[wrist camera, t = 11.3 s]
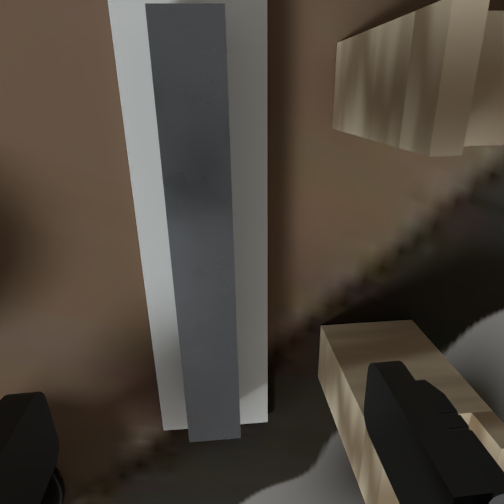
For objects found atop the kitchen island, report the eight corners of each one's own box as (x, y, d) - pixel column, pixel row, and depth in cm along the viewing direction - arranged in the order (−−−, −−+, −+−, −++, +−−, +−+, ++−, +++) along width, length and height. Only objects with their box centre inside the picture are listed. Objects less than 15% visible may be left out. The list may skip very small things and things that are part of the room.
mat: (106, -33, 17) (102, -38, 17) (265, -32, 18) (267, -36, 17) (164, 423, 27) (163, 430, 26) (266, 415, 27) (267, 421, 27)
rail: (155, 17, 18) (144, 3, 15) (222, 17, 18) (224, 3, 15) (191, 404, 26) (189, 442, 23) (237, 401, 26) (240, 437, 23)
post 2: (320, 325, 25) (383, 460, 16) (411, 319, 26) (524, 446, 16) (318, 376, 27) (374, 526, 17) (403, 369, 27) (502, 512, 18)
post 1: (337, 42, 19) (453, -5, 10) (454, 42, 20) (669, -4, 10) (332, 128, 21) (429, 156, 11) (441, 126, 21) (619, 150, 12)
